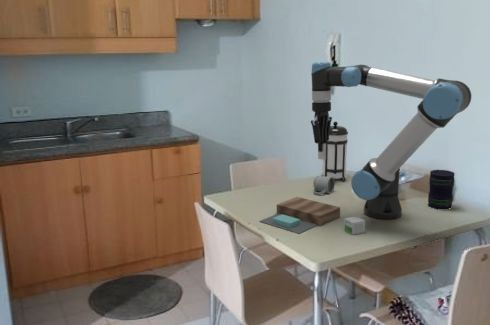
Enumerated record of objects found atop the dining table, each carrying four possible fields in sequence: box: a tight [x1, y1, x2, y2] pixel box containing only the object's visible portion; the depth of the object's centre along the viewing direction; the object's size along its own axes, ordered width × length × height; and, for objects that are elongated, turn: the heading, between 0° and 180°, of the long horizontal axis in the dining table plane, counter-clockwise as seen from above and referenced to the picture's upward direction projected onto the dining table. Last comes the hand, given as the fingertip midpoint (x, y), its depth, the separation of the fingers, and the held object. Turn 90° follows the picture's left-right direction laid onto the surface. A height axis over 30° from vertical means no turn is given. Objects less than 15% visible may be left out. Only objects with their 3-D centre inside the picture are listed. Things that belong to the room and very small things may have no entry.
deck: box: [276, 196, 341, 227], centre depth 210 cm, size 22×14×4 cm, turn 47°
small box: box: [343, 215, 366, 236], centre depth 192 cm, size 6×6×5 cm
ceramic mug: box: [313, 175, 336, 196], centre depth 240 cm, size 11×8×8 cm
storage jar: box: [427, 169, 455, 210], centre depth 217 cm, size 10×10×15 cm
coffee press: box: [322, 121, 349, 183], centre depth 259 cm, size 17×16×30 cm
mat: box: [258, 213, 319, 235], centre depth 201 cm, size 20×12×1 cm, turn 47°
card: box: [273, 214, 300, 228], centre depth 200 cm, size 9×6×2 cm, turn 46°
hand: (322, 158), depth 208 cm, fingers closed
